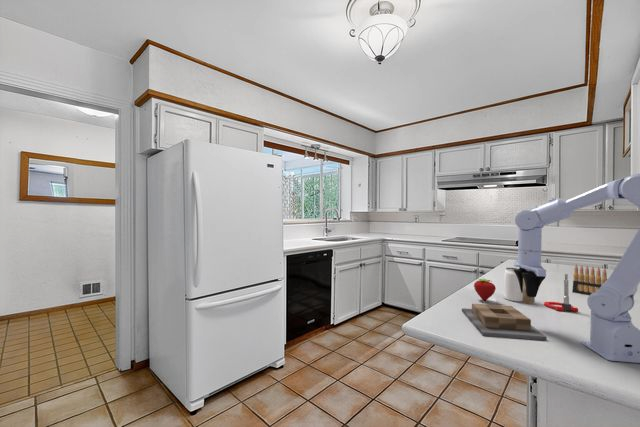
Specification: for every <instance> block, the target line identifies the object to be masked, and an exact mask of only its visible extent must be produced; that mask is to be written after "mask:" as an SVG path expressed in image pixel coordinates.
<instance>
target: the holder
mask: <svg viewBox="0 0 640 427" xmlns="http://www.w3.org/2000/svg"><path fill="white" fill-rule="evenodd" d="M461 312H462V313H463V315H465V317H466V318H467V320H469V321H470V323H471V324H472V325H473V326H474V327H475V329H476V330H477V331H478V332H479V333H480V334H481V336H483V337H495V338H496V337H497V338H511V339H523V340H535V341H536V340H537V341H538V340H539V341H547V339H548V338H547V335H545V334H544V333H542V332H541V331H539V330H538V329H537V328H535V327H534V326H533V325H531V324H532V319H530V318H529V317H528V316H526V315H525V314H523V312H521V311H520V310H518V309H516V308H515V307H514V306H513V305H504V304H503V305H498V304H483V303H482V304H481V303H471V308H466V307H464V308H463V307H462V308H461Z"/></svg>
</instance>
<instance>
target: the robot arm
mask: <svg viewBox="0 0 640 427" xmlns="http://www.w3.org/2000/svg"><path fill="white" fill-rule="evenodd" d="M608 200H627V201H628V202H630V203H632V204H633V205H634V206H636V208H637V209H638V210H639V211H640V173H634V174H631V175H629V176H627V177H625V178H619V179H615V180H612V181H610V182H607V183H605V184H602V185H600V186H598V187H595V188H593V189H590V190H588V191H586V192H584V193H582V194H581V193H580V194H579V195H576V196H574V197H572V198H571V197H570V198H569V199H564V198H551V199H548V202H547V203H544V204H541V205H539V206H538V205H535V206H532V207H531V210H528V209H524V210H523V209H522V210H521V211H519V212H518V213H517V214H516V216H515V218H514V223H515V225H516V227H518V236H517V237H518V240H517V241H518V242H517V245H518V246H517V260H516V259H515V260H514V263H513V267H514V268H519V269H514V272H515V274H516V276H517V278H518V281H519V285H520V289H521V293H523V278H524V281H525V286H526V294H527V296H528V297H535V298H536V297H537V295H538V292H539V289H540V286H541V284H542V282H544V280H545V279H546V276H547V269H545V268H544V267H543V266H542V237H543V236H542V233H543V232H542V229H543V228H544V227H545V226H548V225H551V224H553V223H557V222H560V221H563V220H565V219H568V218H570V217H572V216H573V214H574V211H577V210H580V209H583V208H587V207H589V206H593V205H596V204H599V203H602V202H605V201H608ZM639 284H640V228H639V229H638V230H637V232H636V234H635V235H634V237H633V238H632V240H631V242H630V243H629V245H628V246H627V248H626V250H625V252H624V253H623V255H622V256H621V258H620V260H619V261H618V263H617V265H616V266H615V268H614V269H613V271H612V273H611V274H610V276H609V277H607V280H606V281H605V282H604V283H603V284H602V285H601V287H600V289H599V290H598V291H596V292H594V293H592V294H590V295H588V297H587V301H586V302H587V306H588V308H589V309H590V328H589V330H590V331H589V335H590V336H589V341H587V340H582V341H581V342H580V343H581V344H583V345H584V346H585V347H587V348H589V349H590V350H591V351H594V352H595V353H596V354H598V355H599V356H601V357H602V358H603V359H606V360H607V361H612V362H625V363H637V364H640V329H639V328H638V327H636V326H635V325H634V324H633V321H632V316H631V315H630V313H629V311H630V310H632V309H634V305H635V295H636V294H637V292H638V286H639Z"/></svg>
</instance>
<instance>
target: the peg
mask: <svg viewBox="0 0 640 427" xmlns="http://www.w3.org/2000/svg"><path fill="white" fill-rule="evenodd" d="M535 299H536V297H528V296H527V294H526V286H525V281H524V278H523V298H522V303H523V304H527V305H535Z"/></svg>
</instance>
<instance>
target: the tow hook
mask: <svg viewBox="0 0 640 427" xmlns="http://www.w3.org/2000/svg"><path fill="white" fill-rule="evenodd" d="M568 278H569V276H568V274H567V273H564V279H563V302H559V301H544V302H543V306H545V307H547V308H551V309H554V310H555V311H558V312H572V311H573V312H574V313H576V312H577V313H578V312H579V308H578V307H575V306H573V305H572V304H571V303H570V296H569V279H568Z"/></svg>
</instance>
